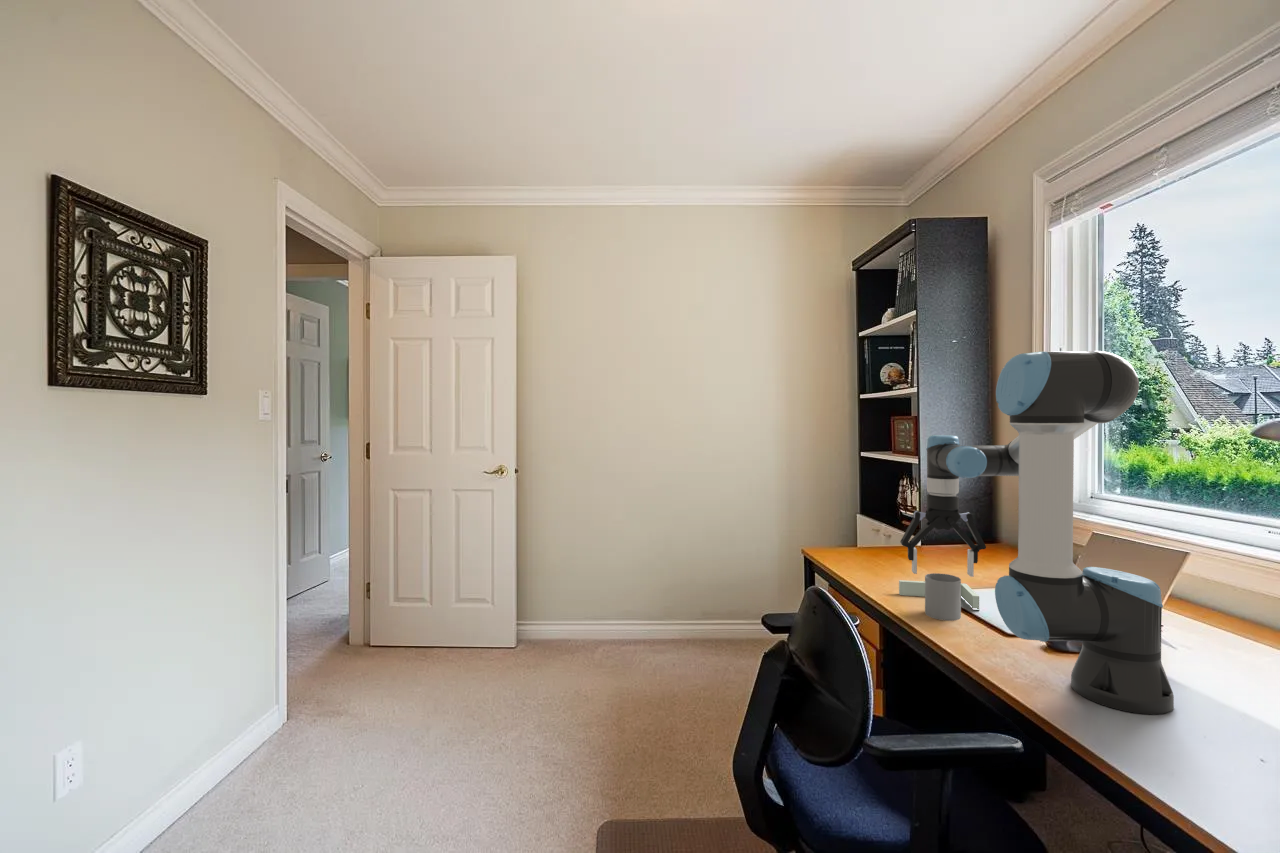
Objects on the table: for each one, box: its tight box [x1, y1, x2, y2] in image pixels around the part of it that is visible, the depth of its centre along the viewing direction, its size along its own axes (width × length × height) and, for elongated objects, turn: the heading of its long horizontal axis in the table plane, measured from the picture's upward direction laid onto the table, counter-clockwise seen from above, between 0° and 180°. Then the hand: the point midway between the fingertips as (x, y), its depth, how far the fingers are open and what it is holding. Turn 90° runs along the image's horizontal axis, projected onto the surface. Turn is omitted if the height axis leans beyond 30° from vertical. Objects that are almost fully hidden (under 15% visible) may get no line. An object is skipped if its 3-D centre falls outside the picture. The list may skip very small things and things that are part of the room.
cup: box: [924, 572, 962, 622], centre depth 160 cm, size 8×8×10 cm
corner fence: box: [898, 579, 980, 610], centre depth 171 cm, size 12×18×4 cm
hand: (942, 573), depth 160 cm, fingers open, 13 cm apart
